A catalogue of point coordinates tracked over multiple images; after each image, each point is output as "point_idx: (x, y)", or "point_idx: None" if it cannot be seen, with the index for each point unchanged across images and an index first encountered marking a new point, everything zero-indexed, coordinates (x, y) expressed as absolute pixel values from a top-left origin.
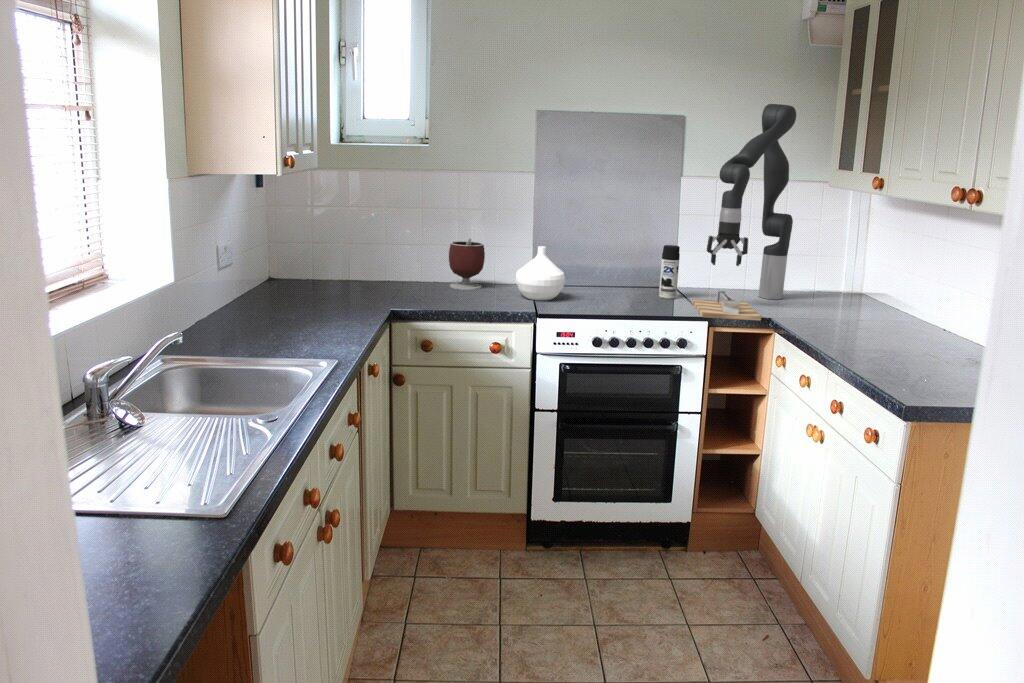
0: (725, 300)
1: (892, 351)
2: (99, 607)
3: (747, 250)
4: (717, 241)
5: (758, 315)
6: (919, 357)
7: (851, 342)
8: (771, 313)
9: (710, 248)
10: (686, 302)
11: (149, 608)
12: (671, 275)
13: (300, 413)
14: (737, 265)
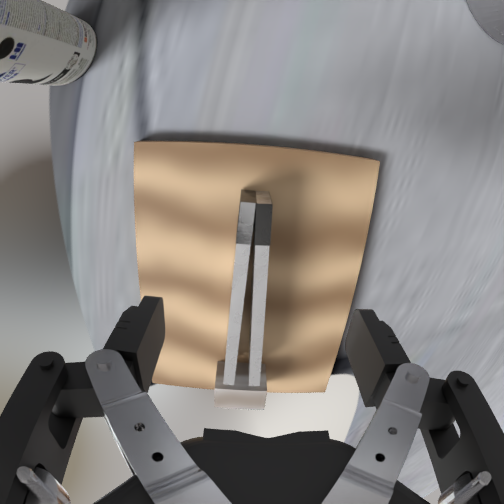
0: (224, 381)
1: (415, 476)
2: None
3: (451, 439)
4: (106, 499)
5: (321, 385)
6: (423, 482)
7: None
8: (410, 283)
9: (67, 435)
10: (121, 130)
11: None
12: (5, 79)
13: None
14: (348, 346)
